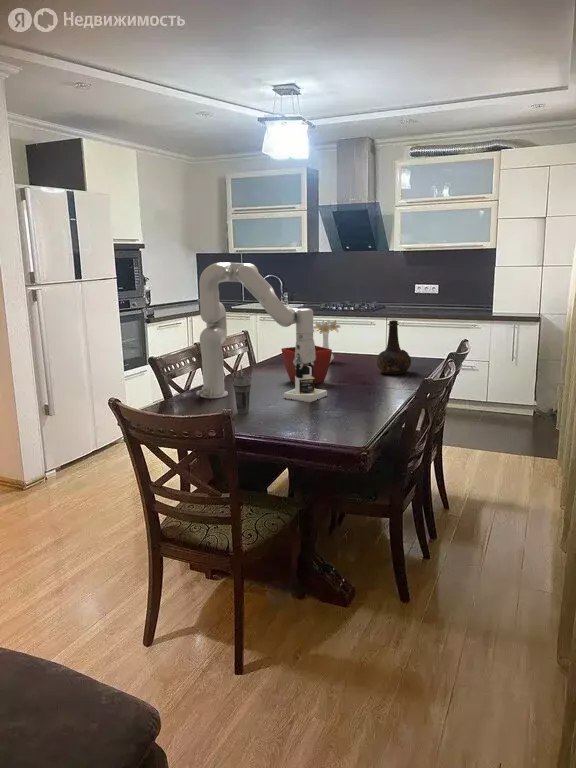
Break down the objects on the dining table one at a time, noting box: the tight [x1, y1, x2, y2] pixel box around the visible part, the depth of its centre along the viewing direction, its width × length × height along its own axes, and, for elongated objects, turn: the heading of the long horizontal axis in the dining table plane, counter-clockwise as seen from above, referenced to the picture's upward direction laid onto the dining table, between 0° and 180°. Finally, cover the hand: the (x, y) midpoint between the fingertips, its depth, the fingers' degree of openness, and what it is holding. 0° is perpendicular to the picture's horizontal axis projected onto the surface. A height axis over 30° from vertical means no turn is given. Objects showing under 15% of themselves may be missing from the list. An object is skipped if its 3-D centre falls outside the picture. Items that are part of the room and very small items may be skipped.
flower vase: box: [313, 319, 341, 364], centre depth 338 cm, size 13×18×25 cm
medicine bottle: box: [294, 366, 316, 395], centre depth 259 cm, size 7×7×12 cm
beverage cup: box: [232, 364, 252, 415], centre depth 235 cm, size 7×7×20 cm
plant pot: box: [281, 345, 333, 385], centre depth 289 cm, size 19×19×17 cm
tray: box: [283, 388, 328, 404], centre depth 261 cm, size 14×14×2 cm
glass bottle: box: [375, 319, 412, 376], centre depth 306 cm, size 18×18×28 cm
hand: (304, 375), depth 259 cm, fingers closed on medicine bottle, 7 cm apart
